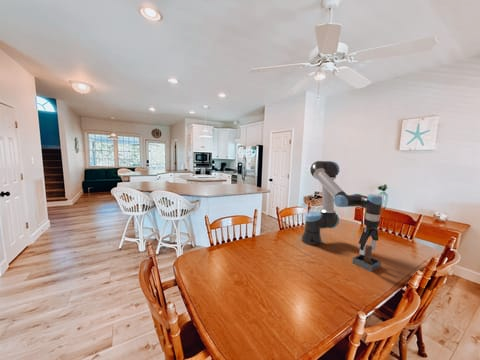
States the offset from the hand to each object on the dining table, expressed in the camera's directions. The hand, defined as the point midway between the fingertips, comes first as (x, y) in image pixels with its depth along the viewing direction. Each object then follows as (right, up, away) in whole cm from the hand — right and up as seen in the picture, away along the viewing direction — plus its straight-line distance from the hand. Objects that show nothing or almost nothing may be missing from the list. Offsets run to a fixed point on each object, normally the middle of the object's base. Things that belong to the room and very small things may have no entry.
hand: (367, 251), depth 128 cm
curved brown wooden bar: (0, -8, 0) cm, 8 cm away
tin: (0, -8, +1) cm, 8 cm away
